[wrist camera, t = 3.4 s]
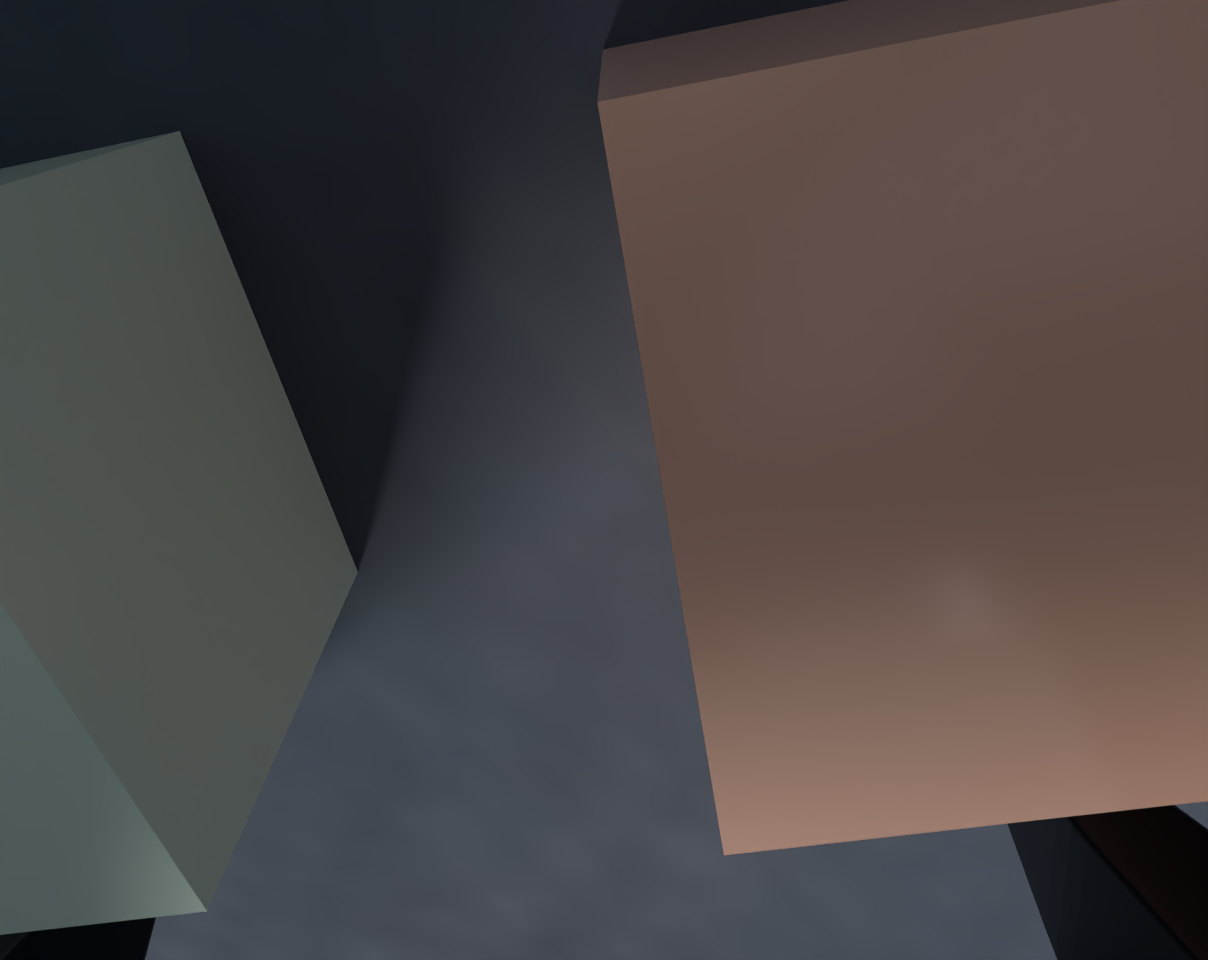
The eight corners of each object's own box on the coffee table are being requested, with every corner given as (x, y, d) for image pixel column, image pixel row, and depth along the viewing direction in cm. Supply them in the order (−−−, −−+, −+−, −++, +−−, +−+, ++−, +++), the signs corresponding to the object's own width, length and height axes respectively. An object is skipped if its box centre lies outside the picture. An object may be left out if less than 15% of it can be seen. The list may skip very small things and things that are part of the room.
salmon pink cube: (1196, -70, 6) (1910, -152, 3) (1125, 455, 9) (1479, 770, 5) (602, 49, 7) (596, 100, 3) (678, 520, 9) (724, 854, 5)
